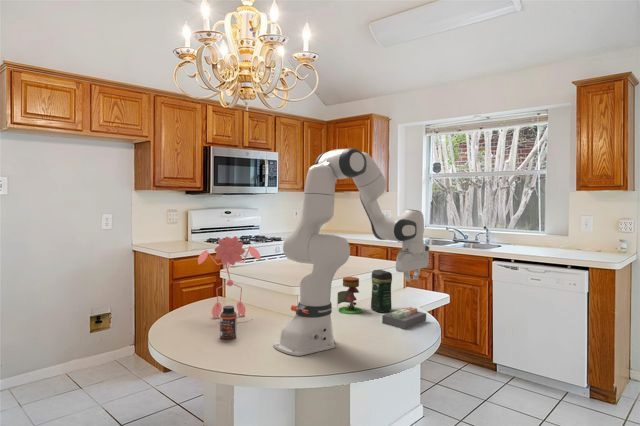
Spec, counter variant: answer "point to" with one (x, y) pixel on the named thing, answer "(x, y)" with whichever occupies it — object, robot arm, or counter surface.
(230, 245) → the figurine
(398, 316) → the key left
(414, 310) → the key right
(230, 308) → the supplement bottle
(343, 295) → the red green toy sculpture
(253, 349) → the counter surface
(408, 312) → the key mid
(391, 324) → the keypad
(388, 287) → the coffee jar
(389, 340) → the counter surface
